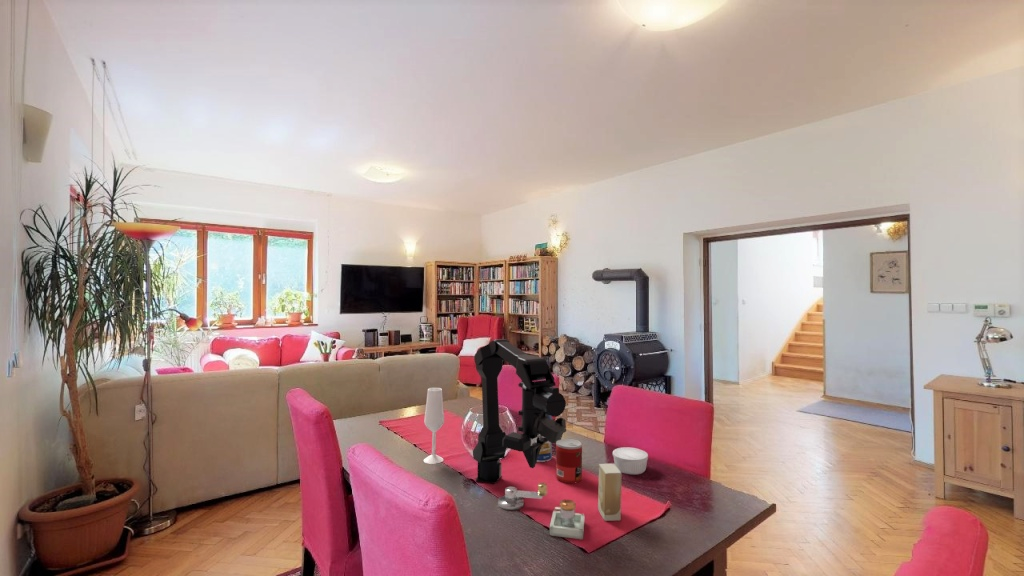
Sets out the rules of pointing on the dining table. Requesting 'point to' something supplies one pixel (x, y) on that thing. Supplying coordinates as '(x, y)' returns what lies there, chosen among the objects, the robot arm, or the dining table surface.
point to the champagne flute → (434, 420)
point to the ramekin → (630, 460)
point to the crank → (524, 493)
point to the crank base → (508, 506)
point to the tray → (567, 531)
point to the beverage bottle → (545, 451)
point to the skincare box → (609, 492)
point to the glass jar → (567, 513)
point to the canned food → (569, 460)
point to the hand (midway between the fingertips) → (532, 467)
